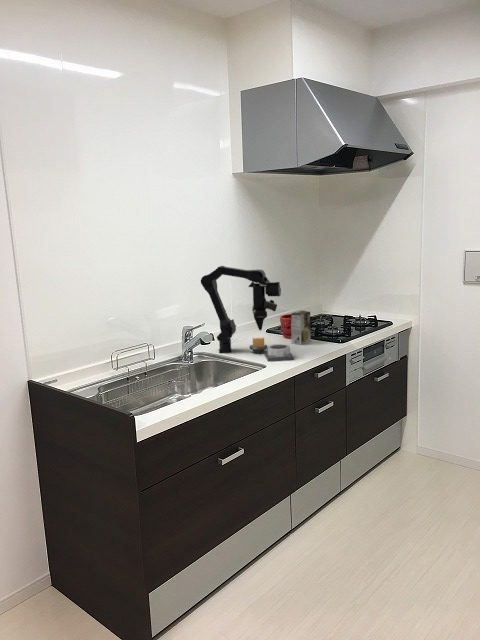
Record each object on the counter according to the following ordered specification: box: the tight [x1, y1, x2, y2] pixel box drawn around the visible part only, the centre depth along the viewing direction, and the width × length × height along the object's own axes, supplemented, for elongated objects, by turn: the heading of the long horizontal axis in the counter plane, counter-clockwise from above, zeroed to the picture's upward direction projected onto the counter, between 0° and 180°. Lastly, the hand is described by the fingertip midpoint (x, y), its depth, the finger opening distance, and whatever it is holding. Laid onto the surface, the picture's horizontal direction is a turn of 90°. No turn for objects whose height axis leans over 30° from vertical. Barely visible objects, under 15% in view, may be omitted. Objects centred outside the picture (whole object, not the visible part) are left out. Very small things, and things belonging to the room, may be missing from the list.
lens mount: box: [263, 343, 295, 362], centre depth 253 cm, size 12×12×5 cm
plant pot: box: [279, 313, 292, 340], centre depth 294 cm, size 13×13×12 cm
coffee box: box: [290, 310, 312, 346], centre depth 280 cm, size 9×6×16 cm
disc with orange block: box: [249, 337, 268, 355], centre depth 264 cm, size 9×9×7 cm
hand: (259, 328), depth 261 cm, fingers open, 9 cm apart
